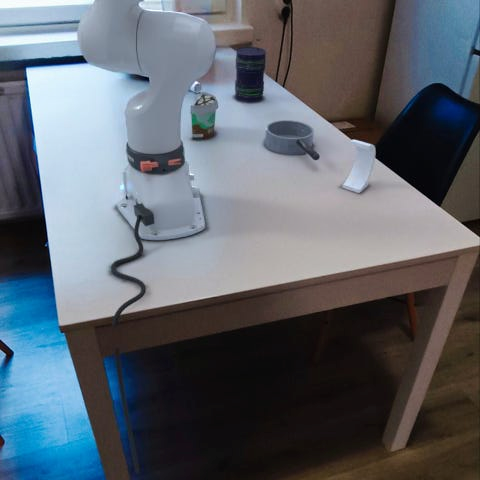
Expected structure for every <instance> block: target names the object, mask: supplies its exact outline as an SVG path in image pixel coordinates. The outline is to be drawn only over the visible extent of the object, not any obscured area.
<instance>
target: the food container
mask: <svg viewBox="0 0 480 480" xmlns="http://www.w3.org/2000/svg"><path fill="white" fill-rule="evenodd" d="M200 95H201V96H200V97H199V98H198V99H197V100H196V101H195V103H194V104H193V105H192V104H190V111H189V112H190V117H191V119H190V120H191V135H192V140H196V141H199V140H200V141H201V140H207V139H211V138H213V136H214V135H215V127H216V126H215V125H216V112H217V110H218V108H219V102H218V99H217V97H216V96H215V95H214V94H212V93H209V92H204V91H201V94H200Z"/></svg>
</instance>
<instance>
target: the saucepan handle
mask: <svg viewBox="0 0 480 480" xmlns="http://www.w3.org/2000/svg"><path fill="white" fill-rule="evenodd" d="M297 144H298V145H299V146H300V147H301V148H302V149H303V150H304V151H305V152H306V154H307V155H308V156H309V157H310V158H311V159H312V160H314V161H318V160H319V159H320V157H321V156H320V154H319V153H318V152H317V150H315V149H314V148H313V147H310V146H309V145H308V144H307V143H306V142H305V141H304V140H303V139H301V138H300V139H298V140H297Z"/></svg>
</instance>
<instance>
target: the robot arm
mask: <svg viewBox="0 0 480 480" xmlns="http://www.w3.org/2000/svg"><path fill="white" fill-rule="evenodd" d="M143 2H146V0H94V1H93V2H92V4H91V7H90V8H88V9H87V10H86V11H85V12H84V14H82V16H81V18H80V19H79V23H78V26H77V32H76V38H77V39H76V40H77V44H78V45H77V46H78V48H79V50H80V54H81V55H82V57H83V58H84V59H85V61H86V62H87V63H88V64H89V65H90V66H92V67H95V68H99V69H101V70H105V71H108V72H111V73H115V74H116V73H117V74H129V75H137V76H138V75H139V76H141V75H146V76H149V77H148V78H149V79H148V80H149V88H147V89H145V90H143V91H140V92H138V93H136V94H135V95H133V96H132V97H131V98H129V99H128V101H127V102H126V105H125V108H124V112H123V113H124V121H125V129H126V139H127V142H126V144H125V147H126V148H125V153H126V154H125V155H126V157H127V158H126V159H127V162H128V163H127V164H126V166H125V168H124V169H123V170H122V171H121V177H122V184H121V185H120V186H119V190H120V191H122V190H123V198H122V199H121V200H119V201H118V202H117V203H116V204H117V206H116V207H117V209H118V211H119V212H120V213H121V215H122V216H123V217H124V219H125V220H126V222H128V224H129V225H131V228H132V229H133V232H134V234H133V235H134V240H135V241H136V243H137V246H138V251H137V252H136V253H135V254H133V255H131V256H128V257H124V258H120V259H117V260H115V261H114V262H112V263H111V266H110V270H111V272H112V274H113V275H114V276H116V277H118V278H120V279H123V280H126V281H129V282H132V283H135V284H137V285H138V286H139V287H140V292H139V293H138V294H136V295H134V296H133V297H132V298H130V299H128V300H127V301H125V302H123V304H121V306H119V308H118V309H117V310H116V311H115V313H114V316H113V318H112V322H111V325H112V326H113V327H115V326H117V324H118V322H119V318H120V316H121V315H122V313H123V312H124V311H125V309H127V308H128V307H130V306H131V305H133V304H135V303H136V302H138V301H139V300H141V299H142V298H143V297H144V296H145V294H146V292H147V289H146V288H147V287H146V285H145V283H144V282H143V281H142V280H140V279H139V278H136V277H134V276H131V275H127V274H124V273H122V272H119V271H118V270H117V269H116V268H117V266H119V265H121V264H125V263H130V262H132V261H134V260H137V259H138V258H139V257H140V256H141V255H142V253H143V251H144V245H143V242H142V240H148V241H167V240H175V239H180V238H184V237H188V236H192V235H196V234H198V233H200V232H202V231H204V230H205V229H206V222H205V217H204V210H203V205H202V200H201V192H200V187H199V186H194V185H192V181H195V174H194V173H190V163H189V162H188V161H187V160H186V157H185V156H186V155H185V147H184V142H183V140H182V132H181V131H182V109H183V104H184V100H185V99H186V98H185V97H186V95H187V93H188V92H189V90H190V87H191V86H192V85H193V84H194V83H195V82H198V80H200V79H201V78H202V77H203V76H205V75H206V74H207V73H208V72H209V70H211V68H212V66H213V64H214V61H215V59H216V54H217V41H216V37H215V33H214V31H213V29H212V27H211V26H210V24H209V23H208V21H207V20H206V19H204V18H200V17H197V16H196V15H195V16H194V15H191V14H188V13H184V12H181V11H180V12H178V11H167V10H154V9H147V8H143V6H142V5H141V3H143ZM141 239H142V240H141ZM114 357H115V366H116V373H117V380H118V387H119V392H120V393H119V394H120V399H121V400H120V401H121V405H122V410H123V415H124V421H125V425H126V430H127V436H128V440H129V445H130V450H131V454H132V460H133V466H134V472H135V474H139V473H140V467H139V466H140V465H139V461H138V454H137V450H136V445H135V438H134V435H133V429H132V424H131V419H130V413H129V407H128V402H127V396H126V390H125V384H124V383H125V382H124V378H123V369H122V361H121V360H122V359H121V350H120V347H116V348H114Z"/></svg>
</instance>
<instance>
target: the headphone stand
mask: <svg viewBox="0 0 480 480" xmlns="http://www.w3.org/2000/svg"><path fill="white" fill-rule="evenodd" d="M349 144H350V145H352V146H355V148H356V151H355V152H356V153H355V159H354V163H353V166H352V169H351V171H350V173H349V175H348V176H347V178H346V180H345V182H344V183H342V185H341V188H342V189H345V190H349V191H350V192H354V193H356V194H360V193H361V192H362V191H364V190H365V189H366V188H367V187H368V186H369V182H368V181H369V179H370V176H371V174H372V171H373V168H374V165H375V160H376V146H375V145H374V144H372V143H369V142H365V141H361V140H358V139H351V140H350V143H349Z"/></svg>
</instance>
